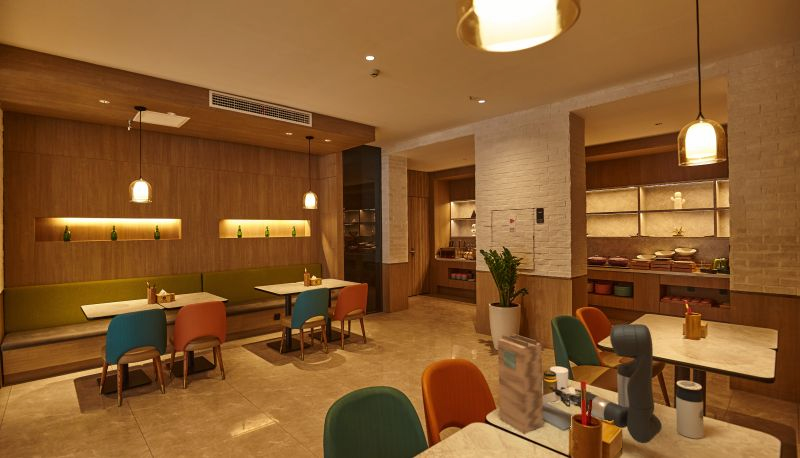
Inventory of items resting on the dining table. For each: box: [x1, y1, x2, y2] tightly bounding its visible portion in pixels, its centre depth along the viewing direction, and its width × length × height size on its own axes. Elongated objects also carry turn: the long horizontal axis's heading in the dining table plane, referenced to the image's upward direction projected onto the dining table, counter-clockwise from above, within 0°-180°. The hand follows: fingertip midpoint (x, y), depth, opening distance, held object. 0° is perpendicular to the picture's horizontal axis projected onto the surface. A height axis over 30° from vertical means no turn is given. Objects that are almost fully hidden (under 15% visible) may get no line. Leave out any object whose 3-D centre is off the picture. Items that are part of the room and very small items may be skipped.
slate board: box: [543, 403, 573, 432], centre depth 161 cm, size 12×19×1 cm, turn 28°
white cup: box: [549, 366, 569, 390], centre depth 185 cm, size 8×8×10 cm
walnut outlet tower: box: [497, 332, 544, 435], centre depth 156 cm, size 10×13×34 cm
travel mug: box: [675, 380, 705, 440], centre depth 145 cm, size 8×8×18 cm
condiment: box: [542, 370, 560, 404], centre depth 177 cm, size 7×8×12 cm
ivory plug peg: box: [543, 386, 576, 404], centre depth 160 cm, size 3×19×3 cm, turn 28°
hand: (558, 390), depth 159 cm, fingers closed on ivory plug peg, 2 cm apart
